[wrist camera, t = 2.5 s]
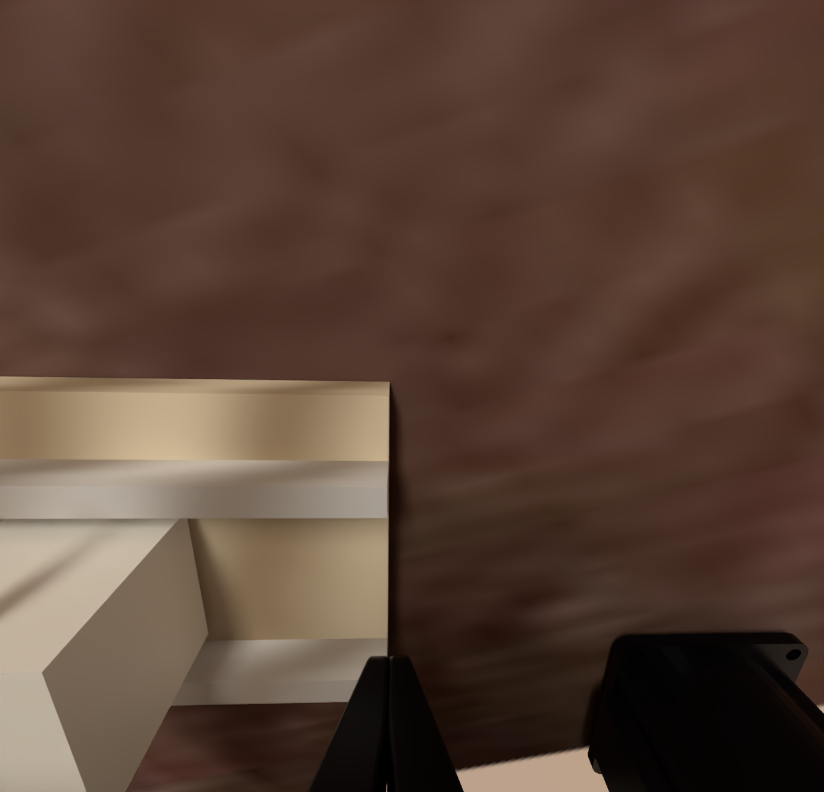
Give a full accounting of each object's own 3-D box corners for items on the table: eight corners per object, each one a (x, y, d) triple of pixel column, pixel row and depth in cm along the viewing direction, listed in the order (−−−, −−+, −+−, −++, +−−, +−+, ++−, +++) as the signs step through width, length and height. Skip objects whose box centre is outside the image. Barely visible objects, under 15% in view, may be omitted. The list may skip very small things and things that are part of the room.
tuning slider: (167, 412, 9) (-41, 537, 4) (220, 699, 11) (121, 937, 7) (-17, 410, 8) (-409, 539, 4) (82, 702, 11) (-98, 948, 7)
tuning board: (389, 381, 10) (387, 413, 8) (387, 661, 13) (386, 742, 11) (-349, 371, 9) (-592, 404, 7) (-167, 670, 12) (-297, 761, 10)
